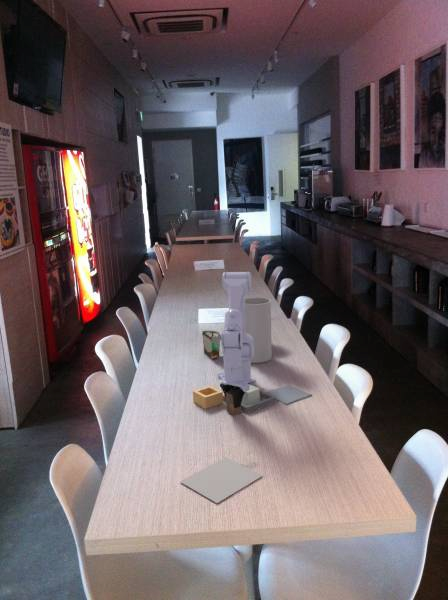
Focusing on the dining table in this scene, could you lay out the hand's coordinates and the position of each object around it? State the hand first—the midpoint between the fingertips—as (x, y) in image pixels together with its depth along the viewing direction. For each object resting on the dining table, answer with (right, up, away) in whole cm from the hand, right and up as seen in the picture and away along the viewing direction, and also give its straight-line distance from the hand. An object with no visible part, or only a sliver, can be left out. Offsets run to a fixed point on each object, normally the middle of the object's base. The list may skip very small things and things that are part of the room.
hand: (233, 405), depth 185 cm
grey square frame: (+6, 0, +8) cm, 10 cm away
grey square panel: (-4, -11, -33) cm, 35 cm away
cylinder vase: (+10, +10, +50) cm, 52 cm away
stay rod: (0, -2, +1) cm, 2 cm away
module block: (+6, 0, +8) cm, 10 cm away
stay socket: (-9, -1, +9) cm, 12 cm away
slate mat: (+19, +1, +13) cm, 23 cm away
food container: (-7, +11, +56) cm, 57 cm away
